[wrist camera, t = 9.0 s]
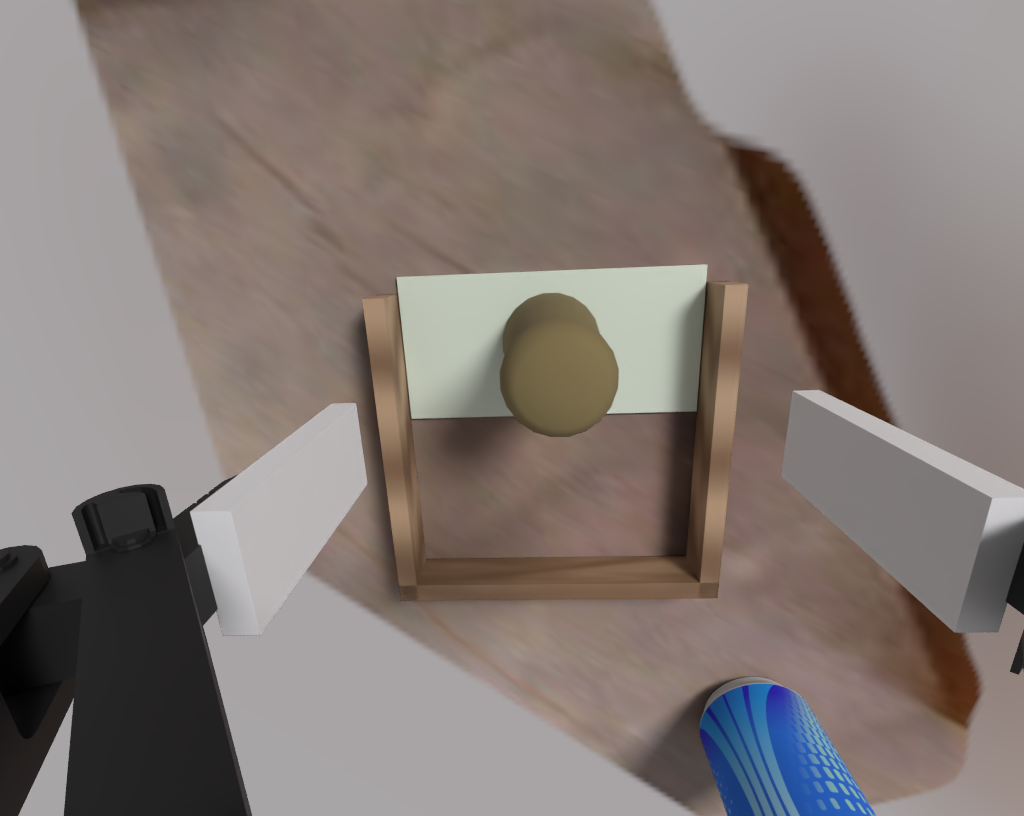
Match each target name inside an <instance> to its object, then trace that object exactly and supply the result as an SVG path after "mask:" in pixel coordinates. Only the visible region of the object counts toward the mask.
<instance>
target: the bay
mask: <svg viewBox="0 0 1024 816" xmlns="http://www.w3.org/2000/svg"><path fill="white" fill-rule="evenodd" d="M747 294H748V284H744V283H737V282H730V281H718V282H707V285H706V298H705V312H704V325H703V339H702V352H701V365H700V379H699V392H698V406H697V419H696V433H695V446H694V460H693V473H692V487H691V500H690V514H689V527H688V541H687V554H686V556H634V557H550V558H465V559H426V555H425V546H424V536H423V527H422V518H421V508H420V499H419V489H418V480H417V471H416V461H415V452H414V443H413V433H412V424H411V415H410V405H409V396H408V387H407V377H406V368H405V359H404V349H403V340H402V331H401V321H400V312H399V303H398V294H386V295H376V296H372V297H368V298H364V299H362V301H363V309H364V317H365V325H366V333H367V340H368V348H369V356H370V364H371V372H372V379H373V387H374V395H375V403H376V411H377V418H378V426H379V434H380V442H381V450H382V457H383V465H384V473H385V481H386V489H387V496H388V504H389V512H390V520H391V528H392V535H393V543H394V551H395V559H396V567H397V574H398V582H399V590H400V598H401V601H424V600H556V599H688V598H718V588H719V577H720V567H721V557H722V547H723V537H724V527H725V517H726V506H727V496H728V486H729V476H730V466H731V456H732V446H733V435H734V425H735V415H736V405H737V395H738V385H739V375H740V364H741V354H742V344H743V334H744V324H745V314H746V304H747Z"/></svg>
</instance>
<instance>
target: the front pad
mask: <svg viewBox="0 0 1024 816" xmlns="http://www.w3.org/2000/svg"><path fill="white" fill-rule="evenodd" d="M706 277H707V265H682V266H657V267H633V268H608V269H584V270H559V271H535V272H510V273H486V274H461V275H437V276H412V277H397V286H398V296H399V305H400V314H401V324H402V333H403V343H404V352H405V361H406V371H407V380H408V389H409V399H410V408H411V418H412V419H422V418H460V417H498V416H514V415H513V414H512V413H511V411H510V410H509V409H508V408H507V406H506V404H505V401H504V398H503V396H502V393H501V391H500V369H501V365H502V362H503V358H504V355H505V354H504V352H503V333H504V330H505V326H506V323H507V320H508V319H509V317H510V316H511V314H512V313H513V311H514V310H515V308H517V307H518V306H519V305H520V304H522V303H523V302H524V301H526V300H527V299H528V298H531V297H534V296H536V295H539V294H542V293H561V294H564V295H568V296H571V297H574V298H575V299H577V300H578V301H580V302H581V303H582V304H584V305H585V306H586V307H587V308H588V309H589V311H590V312H591V314H592V315H593V316H594V318H595V319H596V323H597V326H598V329H599V332H600V335H601V336H602V337H603V338H604V339H605V341H606V342H607V343H608V345H609V346H610V348H611V349H612V350H613V352H614V355H615V358H616V362H617V365H618V368H619V379H618V390H617V393H616V395H615V398H614V401H613V403H612V406H611V408H610V409H609V410H608V412H607V413H606V414H613V413H651V412H689V411H697V399H698V385H699V372H700V358H701V345H702V331H703V318H704V304H705V290H706Z"/></svg>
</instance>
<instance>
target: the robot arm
mask: <svg viewBox="0 0 1024 816" xmlns="http://www.w3.org/2000/svg"><path fill="white" fill-rule="evenodd" d="M781 476H782V477H783V478H784V479H785V480H786V481H787V482H788V483H790V484H791V485H792V486H793V487H794V488H795V489H796V490H797V491H798V492H799V493H801V494H802V495H803V496H804V497H805V498H806V499H807V500H808V501H809V502H811V503H812V504H813V505H814V506H815V507H816V508H817V509H818V510H819V511H821V512H822V513H823V514H824V515H825V516H826V517H827V518H828V519H829V520H831V521H832V522H833V523H834V524H835V525H836V526H837V527H838V528H839V529H840V530H842V531H843V532H844V533H845V534H846V535H847V536H848V537H849V538H850V539H852V540H853V541H854V542H855V543H856V544H857V545H858V546H859V547H860V548H862V549H863V550H864V551H865V552H866V553H867V554H868V555H869V556H870V557H872V558H873V559H874V560H875V561H876V562H877V563H878V564H879V565H880V566H882V567H883V568H884V569H885V570H886V571H887V572H888V573H889V574H890V575H891V576H893V577H894V578H895V579H896V580H897V581H898V582H899V583H900V584H901V585H903V586H904V587H905V588H906V589H907V590H908V591H909V592H910V593H911V594H913V595H914V596H915V597H916V598H917V599H918V600H919V601H920V602H921V603H923V604H924V605H925V606H926V607H927V608H928V609H929V610H930V611H931V612H932V613H934V614H935V615H936V616H937V617H938V618H939V619H940V620H941V621H942V622H944V623H945V624H946V625H947V626H948V627H949V628H950V629H951V630H952V631H954V632H998V631H999V628H1000V625H1001V622H1002V618H1003V615H1004V612H1005V609H1006V606H1007V603H1009V604H1010V605H1011V606H1013V607H1014V608H1015V609H1017V610H1018V611H1020V612H1021V613H1022V614H1023V615H1024V489H1022V488H1020V487H1018V486H1016V485H1014V484H1012V483H1010V482H1008V481H1006V480H1004V479H1002V478H1000V477H998V476H996V475H994V474H992V473H989V472H987V471H985V470H983V469H981V468H979V467H977V466H975V465H973V464H971V463H969V462H967V461H965V460H963V459H961V458H958V457H956V456H954V455H952V454H950V453H948V452H946V451H944V450H942V449H940V448H938V447H936V446H933V445H932V444H930V443H927V442H925V441H923V440H921V439H919V438H917V437H915V436H913V435H911V434H909V433H907V432H905V431H903V430H901V429H899V428H897V427H894V426H892V425H890V424H888V423H886V422H884V421H882V420H880V419H878V418H876V417H874V416H872V415H870V414H868V413H866V412H863V411H861V410H859V409H857V408H855V407H853V406H851V405H849V404H847V403H845V402H843V401H841V400H839V399H837V398H835V397H832V396H830V395H828V394H826V393H824V392H822V391H820V390H809V391H793V393H792V401H791V408H790V415H789V423H788V430H787V437H786V445H785V452H784V459H783V467H782V474H781ZM366 485H367V478H366V471H365V464H364V457H363V450H362V443H361V436H360V429H359V421H358V414H357V407H356V403H341V404H331V405H329V406H328V407H327V408H325V409H324V410H323V411H321V412H320V413H319V414H317V415H316V416H315V417H313V418H312V419H311V420H310V421H308V422H307V423H306V424H304V425H303V426H302V427H300V428H299V429H298V430H296V431H295V432H294V433H293V434H291V435H290V436H289V437H287V438H286V439H285V440H283V441H282V442H281V443H279V444H278V445H277V446H275V447H274V448H273V449H272V450H270V451H269V452H268V453H266V454H265V455H264V456H262V457H261V458H260V459H258V460H257V461H256V462H254V463H253V464H252V465H251V466H249V467H248V468H247V469H245V470H244V471H243V472H241V473H240V474H238V475H236V476H234V477H232V478H230V479H227V480H225V481H223V482H222V483H220V484H219V485H218V486H216V487H215V488H214V489H212V490H211V491H210V492H209V494H206V495H204V496H203V497H202V498H200V499H199V500H198V501H197V503H194V504H192V505H191V506H190V507H188V508H187V509H185V510H184V511H183V512H181V513H180V514H179V515H177V516H176V517H175V518H174V519H173V518H172V514H171V510H170V507H169V503H168V500H167V496H166V493H165V489H164V488H163V487H161V486H160V485H155V484H141V485H133V486H128V487H123V488H118V489H115V490H112V491H108V492H105V493H102V494H100V495H97V496H95V497H93V498H90V499H88V500H86V501H85V502H83V503H81V504H80V505H78V506H77V507H76V508H75V509H74V511H73V512H72V516H73V519H74V521H75V525H76V527H77V530H78V533H79V536H80V539H81V542H82V545H83V548H84V550H85V553H86V561H83V562H77V563H72V564H67V565H61V566H55V567H50V568H48V566H47V563H46V561H45V558H44V555H43V553H42V550H41V549H40V548H38V547H37V546H29V545H23V546H16V547H8V548H4V549H1V550H0V816H18V815H19V813H20V810H21V808H22V806H23V804H24V802H25V800H26V798H27V795H28V793H29V791H30V789H31V787H32V785H33V783H34V781H35V779H36V777H37V774H38V772H39V770H40V768H41V766H42V764H43V761H44V759H45V757H46V755H47V753H48V751H49V749H50V747H51V745H52V743H53V741H54V738H55V736H56V734H57V732H58V730H59V727H60V726H61V724H62V721H63V719H64V717H65V715H66V713H67V711H68V709H69V707H70V704H71V702H72V700H73V698H74V704H73V716H72V726H71V739H70V750H69V761H68V774H67V785H66V797H65V808H64V816H252V813H251V809H250V805H249V802H248V798H247V794H246V790H245V787H244V782H243V778H242V775H241V771H240V767H239V763H238V759H237V755H236V752H235V747H234V744H233V740H232V736H231V732H230V728H229V724H228V720H227V716H226V713H225V709H224V705H223V701H222V697H221V693H220V689H219V686H218V682H217V678H216V674H215V670H214V666H213V663H212V659H211V655H210V651H209V647H208V643H207V639H206V636H205V632H204V629H203V625H204V624H205V623H206V622H207V620H208V619H209V618H210V617H211V616H212V615H213V614H214V613H215V611H216V612H217V616H218V619H219V623H220V627H221V631H222V634H223V636H253V635H254V636H258V635H259V636H260V635H261V634H262V633H263V631H264V630H265V629H266V627H267V626H268V624H269V623H270V621H271V620H272V619H273V617H274V616H275V614H276V613H277V612H278V610H279V609H280V607H281V606H282V604H283V603H284V601H285V600H286V599H287V597H288V596H289V595H290V593H291V592H292V590H293V589H294V587H295V586H296V585H297V583H298V582H299V580H300V579H301V578H302V576H303V575H304V573H305V572H306V570H307V569H308V568H309V566H310V565H311V563H312V562H313V561H314V559H315V558H316V556H317V555H318V553H319V552H320V551H321V549H322V548H323V546H324V545H325V543H326V542H327V541H328V539H329V538H330V536H331V535H332V534H333V532H334V531H335V529H336V528H337V526H338V525H339V524H340V522H341V521H342V519H343V518H344V517H345V515H346V514H347V512H348V511H349V509H350V508H351V507H352V505H353V504H354V502H355V501H356V500H357V498H358V497H359V495H360V494H361V492H362V491H363V490H364V488H365V487H366ZM1022 668H1024V631H1023V634H1022V637H1021V640H1020V643H1019V646H1018V649H1017V652H1016V655H1015V658H1014V661H1013V664H1012V667H1011V670H1010V672H1013V673H1016V674H1019V673H1020V671H1021V670H1022Z"/></svg>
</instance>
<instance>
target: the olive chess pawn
mask: <svg viewBox="0 0 1024 816" xmlns="http://www.w3.org/2000/svg"><path fill="white" fill-rule="evenodd" d="M503 352H504V354H505V355H504V358H503V362H502V365H501V369H500V391H501V393H502V396H503V398H504V401H505V404H506V406H507V408H508V409H509V410H510V411H511V413H512V414H513V415H514V416H515V418H516V419H517V420H518V421H519V422H520V423H521V424H523V425H524V426H526V427H527V428H529V429H530V430H532V431H533V432H536V433H539V434H543V435H546V436H550V437H569V436H572V435H575V434H578V433H582V432H585V431H587V430H588V429H589V428H591V427H592V426H594V425H595V424H597V423H598V422H600V421H601V419H602V418H603V417H604V416H605V414H606V413H607V412H608V410H609V409H610V408H611V406H612V403H613V401H614V398H615V395H616V393H617V390H618V379H619V368H618V365H617V362H616V358H615V355H614V352H613V350H612V349H611V348H610V346H609V345H608V343H607V342H606V341H605V339H604V338H603V337H602V336H601V335H600V332H599V329H598V326H597V323H596V319H595V318H594V316H593V315H592V314H591V312H590V311H589V309H588V308H587V307H586V306H585V305H584V304H582V303H581V302H580V301H578V300H577V299H575V298H574V297H571V296H568V295H564V294H561V293H542V294H539V295H536V296H534V297H531V298H528V299H527V300H526V301H524V302H523V303H522V304H520V305H519V306H518V307H517V308H515V310H514V311H513V313H512V314H511V316H510V317H509V319H508V320H507V323H506V326H505V330H504V333H503Z"/></svg>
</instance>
